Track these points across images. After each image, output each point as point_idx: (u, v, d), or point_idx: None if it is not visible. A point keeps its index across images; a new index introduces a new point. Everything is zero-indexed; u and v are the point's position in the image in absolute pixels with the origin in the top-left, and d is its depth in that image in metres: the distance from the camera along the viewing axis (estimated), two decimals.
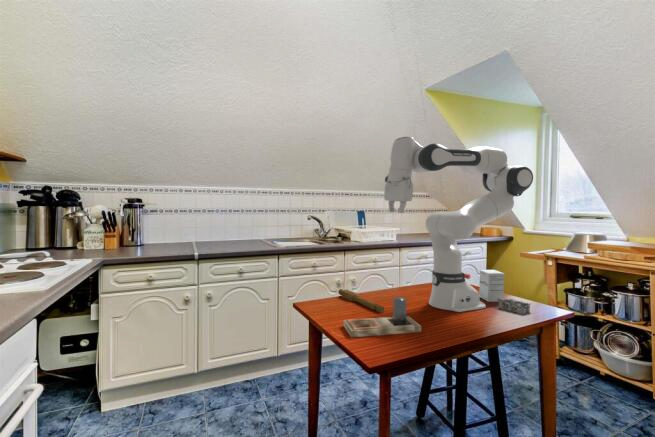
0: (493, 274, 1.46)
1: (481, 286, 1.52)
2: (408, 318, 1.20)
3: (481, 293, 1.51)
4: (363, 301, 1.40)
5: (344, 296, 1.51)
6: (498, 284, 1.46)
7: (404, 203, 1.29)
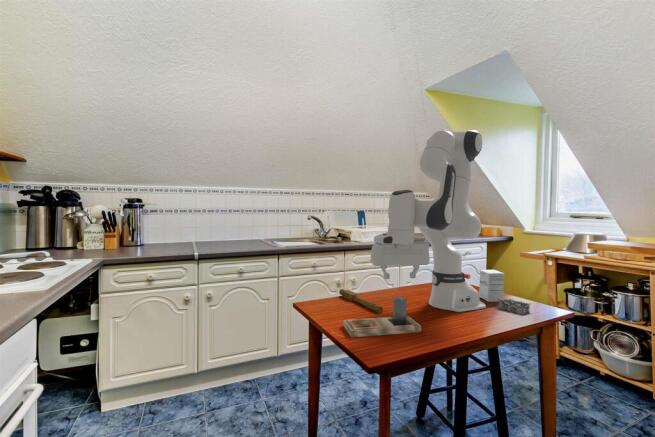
0: (493, 274, 1.46)
1: (481, 286, 1.52)
2: (408, 318, 1.20)
3: (481, 293, 1.51)
4: (362, 301, 1.40)
5: (344, 296, 1.51)
6: (498, 284, 1.46)
7: None
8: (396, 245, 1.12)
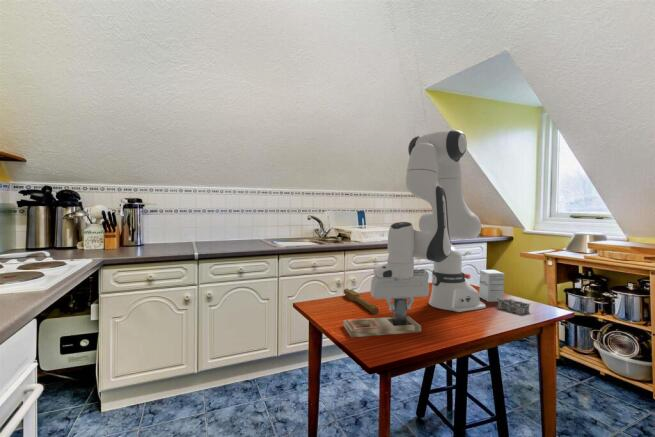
0: (493, 274, 1.46)
1: (481, 286, 1.52)
2: (408, 318, 1.20)
3: (481, 293, 1.51)
4: (361, 301, 1.40)
5: (347, 296, 1.52)
6: (498, 284, 1.46)
7: None
8: (396, 278, 1.13)
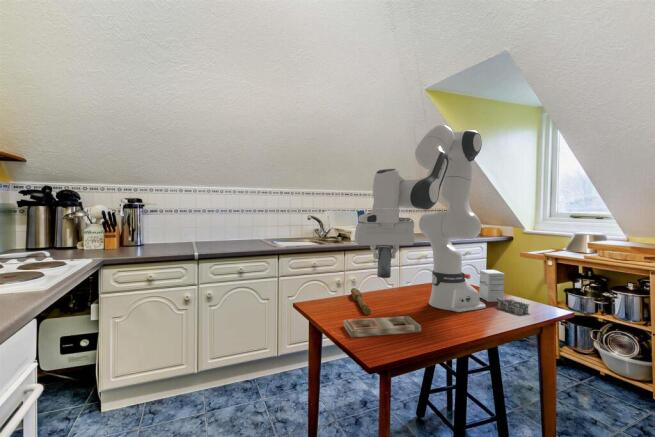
0: (493, 274, 1.46)
1: (481, 286, 1.52)
2: (408, 318, 1.20)
3: (481, 293, 1.51)
4: (359, 301, 1.40)
5: (352, 295, 1.53)
6: (498, 284, 1.46)
7: None
8: (380, 224, 1.11)
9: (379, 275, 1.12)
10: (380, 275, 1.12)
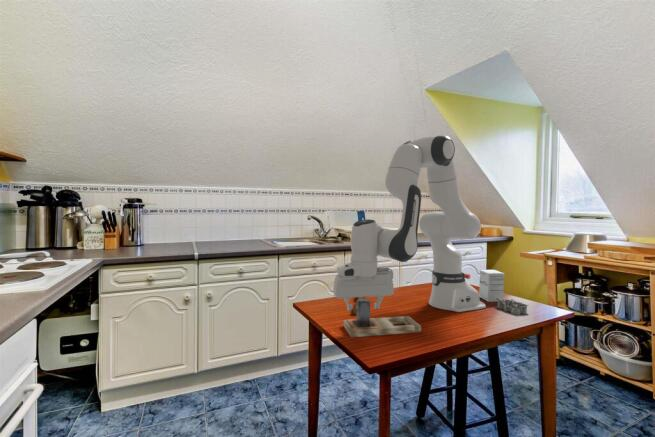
0: (493, 274, 1.46)
1: (481, 286, 1.52)
2: (408, 318, 1.20)
3: (481, 293, 1.51)
4: None
5: None
6: (498, 284, 1.46)
7: None
8: (358, 277, 1.10)
9: None
10: None
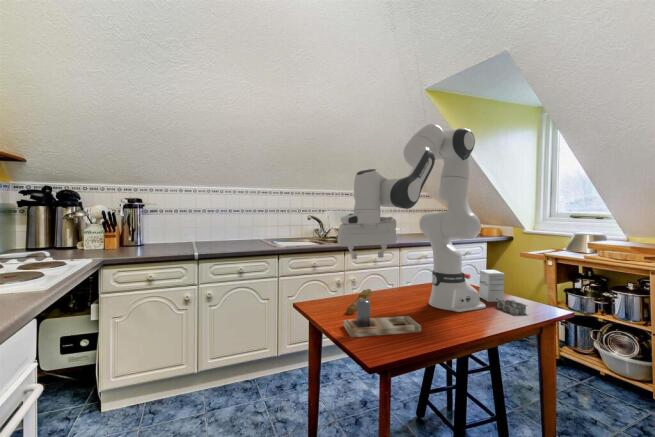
0: (493, 274, 1.46)
1: (481, 286, 1.52)
2: (408, 318, 1.20)
3: (481, 293, 1.51)
4: (355, 301, 1.40)
5: None
6: (498, 284, 1.46)
7: None
8: (362, 225, 1.12)
9: None
10: None
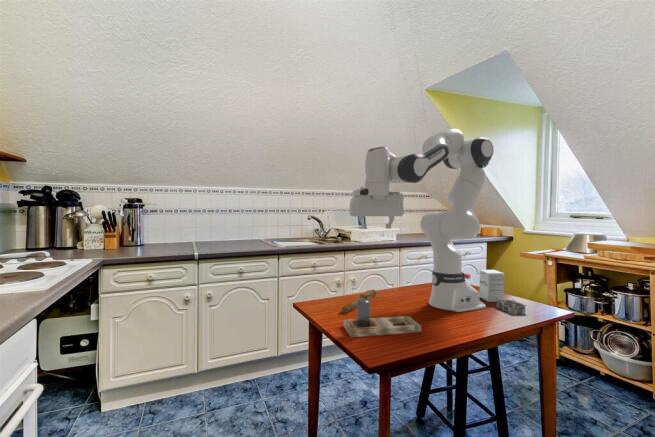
0: (493, 274, 1.46)
1: (481, 286, 1.52)
2: (408, 318, 1.20)
3: (481, 293, 1.51)
4: None
5: None
6: (498, 284, 1.46)
7: None
8: (372, 197, 1.22)
9: None
10: None
